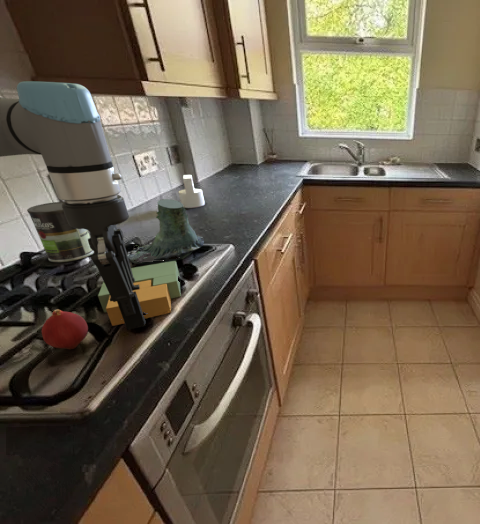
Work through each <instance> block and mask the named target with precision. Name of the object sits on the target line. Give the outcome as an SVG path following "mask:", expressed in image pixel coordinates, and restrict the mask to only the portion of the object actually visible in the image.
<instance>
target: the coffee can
mask: <svg viewBox="0 0 480 524" xmlns="http://www.w3.org/2000/svg"><path fill="white" fill-rule="evenodd" d="M63 202H64V201H55V202H54V201H53V202H47V203H41V204H36V205H33V206H30V207H28V208H27V209H26V212H27V213H28V214H29V217H30V219H31V221H32V224H33V226H34V228H35V230H36V232H37V235H38V238H39V240H40V242H41V244H42V246H43V247H42V248H43V249H44V251H45V252H44V253H45V254H46V256H47V260H48V261H49V262H51V263H67V262H73V261H74V262H75V261H77V260H82V259H84V258H87V257H89V256H90V257H91V254H95V253H94V251H93V250H92V249H91V248H90V246H89V243H88V238H91V236H90V232H89V231H88V230H86V229H76V228H73V227H71V226H70V225H69V224H68V221H67V219H66V216H65V214H64V211H63V208H62V204H63Z"/></svg>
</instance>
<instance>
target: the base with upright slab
mask: <svg viewBox="0 0 480 524" xmlns="http://www.w3.org/2000/svg"><path fill="white" fill-rule="evenodd" d="M182 181H183V185H184V189H181V190H179V191H177V192H178V196H179V202H181V203H182V204H183V206H184V208H185V209H194V208H200V207H203V206H205V205H206V202H205V198H204V193H203V189H201V188H195V186H194V180H193V176H192V174H183V176H182Z"/></svg>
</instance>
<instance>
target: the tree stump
mask: <svg viewBox="0 0 480 524" xmlns="http://www.w3.org/2000/svg"><path fill="white" fill-rule="evenodd" d="M156 204H157V211H156V214H157V216H156V217H155V219H158V222H159V231H158V232H157V233H156V234H155V237H154V240H153V241H152V242H151V243H149V244H146V245H142V246H138V247H137V248H134V247H133V250H131V251H129V253H127V255H128V259H129V262H131V263H133V264H134V265H141V266H147V265H153V264H159V263H165V262H171V261H179V260H184V259H185V258H187V257H188V256H190V255H191V254H193V252H195V251H197V250H198V249H200V248H202V247H203V246H204V244H205V241H204V237H203V236H199V235H197V233H196V231H195V230H194V229H193V227H192V226H191V225H190V222H189V215H188V214H187V209H186V208H184V206H183V204H182V203H181V201H180V200H176V199H170V198H163V199H159V200H158V201H157V203H156ZM146 253H151V256H154V257H155V256H156V258H157V259H154V260H164V261H153V262H142V263H139V262H137V261H134V260H137V258H139V257H140V256H142V255H143V254H146ZM175 256H177V257H180V258H178V259H169V258H171V257H175ZM147 258H148V257H144V258H143V259H147ZM137 263H138V264H137Z"/></svg>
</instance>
